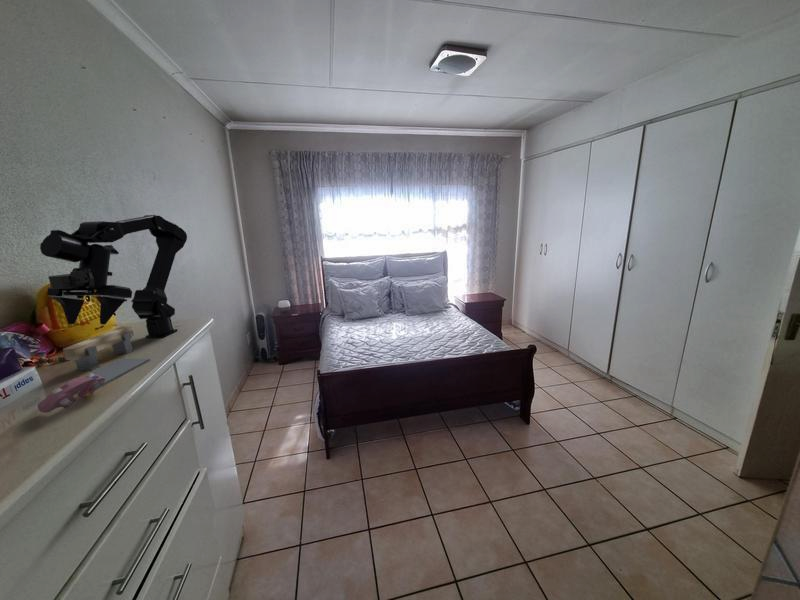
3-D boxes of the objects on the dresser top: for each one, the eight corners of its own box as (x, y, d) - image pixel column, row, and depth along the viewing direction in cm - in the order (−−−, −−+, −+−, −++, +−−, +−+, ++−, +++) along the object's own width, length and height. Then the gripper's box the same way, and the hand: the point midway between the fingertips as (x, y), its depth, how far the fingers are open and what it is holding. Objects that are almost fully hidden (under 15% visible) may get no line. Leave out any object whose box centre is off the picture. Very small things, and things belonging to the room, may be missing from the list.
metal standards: (118, 350, 94) (112, 331, 92) (135, 350, 93) (130, 331, 92) (75, 370, 82) (68, 349, 80) (94, 370, 82) (87, 349, 80)
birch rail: (125, 335, 94) (122, 326, 94) (134, 335, 94) (131, 326, 93) (66, 359, 79) (62, 348, 78) (77, 359, 79) (73, 349, 78)
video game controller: (51, 423, 63) (56, 401, 60) (33, 410, 63) (37, 387, 61) (105, 395, 72) (111, 374, 70) (89, 383, 72) (94, 363, 70)
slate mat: (120, 359, 87) (120, 358, 87) (150, 360, 87) (149, 358, 86) (55, 391, 72) (54, 389, 72) (90, 392, 71) (90, 390, 71)
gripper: (25, 259, 77) (15, 323, 75) (94, 258, 76) (86, 322, 74) (75, 269, 88) (68, 325, 86) (136, 268, 87) (130, 325, 85)
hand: (86, 324), depth 82 cm, fingers open, 9 cm apart
